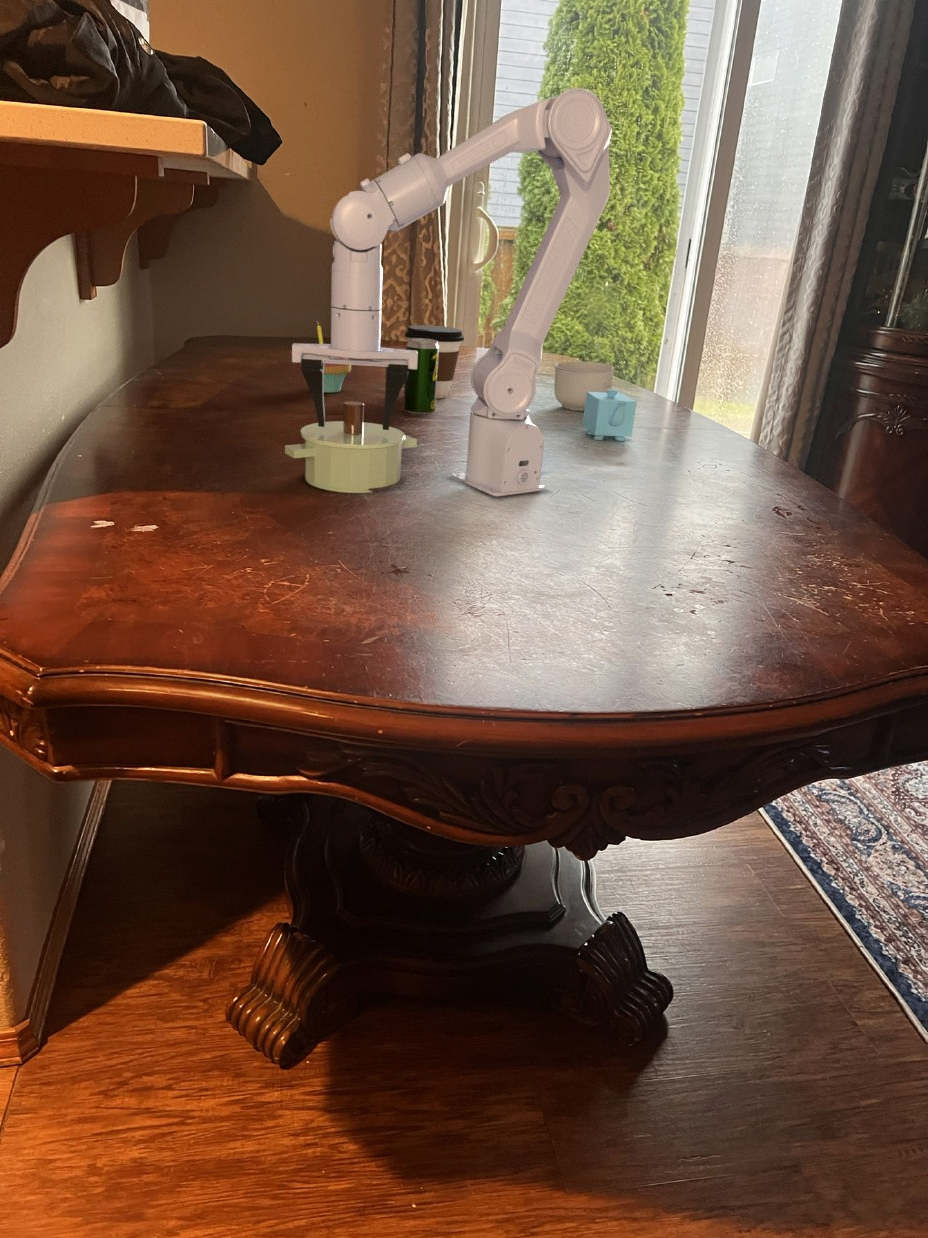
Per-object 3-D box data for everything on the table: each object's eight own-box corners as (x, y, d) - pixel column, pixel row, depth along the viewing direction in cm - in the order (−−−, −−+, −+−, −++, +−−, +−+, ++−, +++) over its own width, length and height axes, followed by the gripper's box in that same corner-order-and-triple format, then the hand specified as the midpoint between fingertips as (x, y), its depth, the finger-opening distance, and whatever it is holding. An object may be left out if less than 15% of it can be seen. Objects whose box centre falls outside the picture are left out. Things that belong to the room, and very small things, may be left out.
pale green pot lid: (424, 449, 108) (426, 410, 106) (331, 457, 101) (332, 416, 99) (371, 426, 117) (372, 391, 115) (282, 433, 110) (282, 395, 108)
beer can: (404, 416, 148) (407, 341, 144) (401, 409, 153) (405, 336, 148) (436, 417, 149) (440, 343, 144) (433, 411, 154) (437, 338, 149)
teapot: (637, 447, 140) (645, 398, 137) (600, 445, 139) (607, 396, 135) (613, 430, 150) (620, 384, 147) (579, 428, 149) (585, 383, 146)
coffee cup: (438, 403, 161) (442, 333, 156) (390, 393, 166) (393, 326, 162) (471, 396, 170) (476, 330, 165) (424, 387, 175) (427, 323, 170)
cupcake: (297, 391, 162) (297, 321, 157) (312, 384, 169) (313, 317, 165) (343, 396, 161) (345, 326, 156) (356, 388, 168) (358, 322, 164)
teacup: (612, 416, 162) (618, 370, 159) (552, 411, 162) (557, 366, 158) (602, 402, 175) (608, 360, 171) (547, 398, 174) (551, 355, 171)
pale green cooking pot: (435, 484, 111) (438, 441, 109) (312, 499, 102) (312, 453, 100) (386, 462, 120) (388, 422, 118) (268, 474, 110) (267, 430, 108)
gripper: (417, 308, 107) (411, 422, 113) (294, 300, 105) (295, 416, 111) (421, 314, 101) (415, 434, 106) (290, 306, 99) (291, 428, 104)
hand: (353, 426), depth 108 cm, fingers open, 7 cm apart
